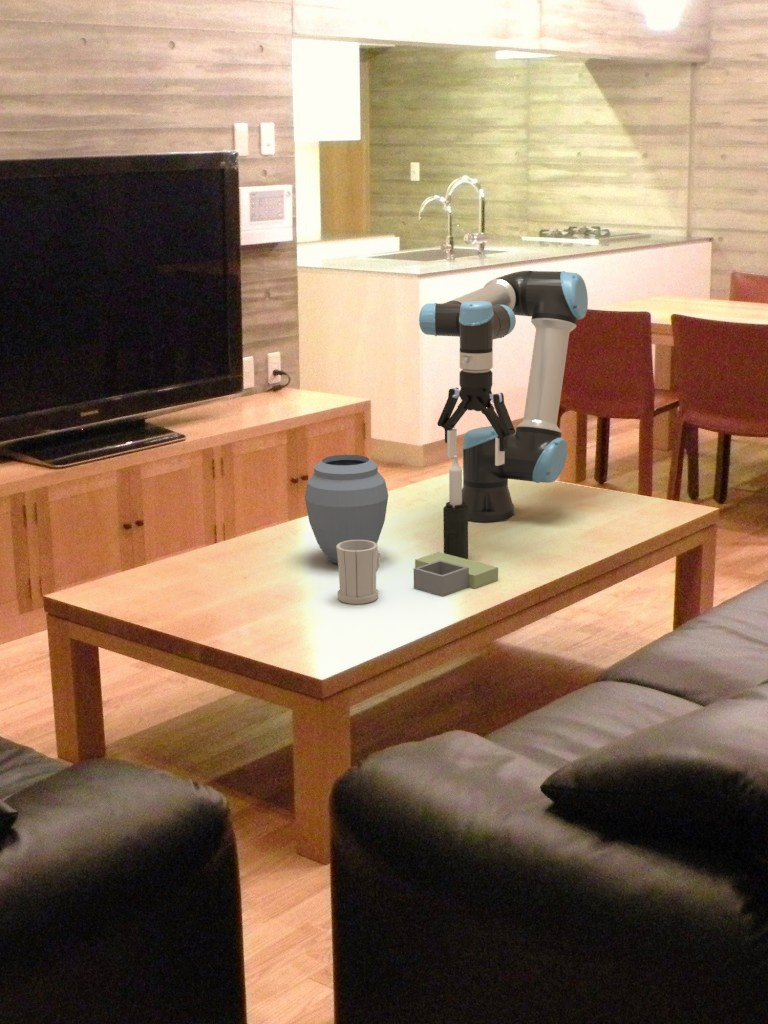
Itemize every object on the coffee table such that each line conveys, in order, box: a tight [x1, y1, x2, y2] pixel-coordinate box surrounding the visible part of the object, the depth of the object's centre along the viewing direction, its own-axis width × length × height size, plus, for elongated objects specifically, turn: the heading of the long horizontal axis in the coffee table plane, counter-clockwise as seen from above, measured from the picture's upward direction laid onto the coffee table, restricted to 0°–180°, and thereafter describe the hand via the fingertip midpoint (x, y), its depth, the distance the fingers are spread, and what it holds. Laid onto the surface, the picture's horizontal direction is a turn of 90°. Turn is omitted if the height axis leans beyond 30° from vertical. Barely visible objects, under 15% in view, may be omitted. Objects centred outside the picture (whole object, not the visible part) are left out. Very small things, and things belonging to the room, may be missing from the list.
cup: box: [336, 540, 381, 605], centre depth 298 cm, size 10×9×12 cm
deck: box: [413, 551, 499, 597], centre depth 310 cm, size 18×17×4 cm
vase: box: [304, 454, 389, 565], centre depth 323 cm, size 20×20×24 cm
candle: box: [442, 455, 469, 559], centre depth 323 cm, size 5×5×25 cm
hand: (475, 460), depth 321 cm, fingers open, 13 cm apart
